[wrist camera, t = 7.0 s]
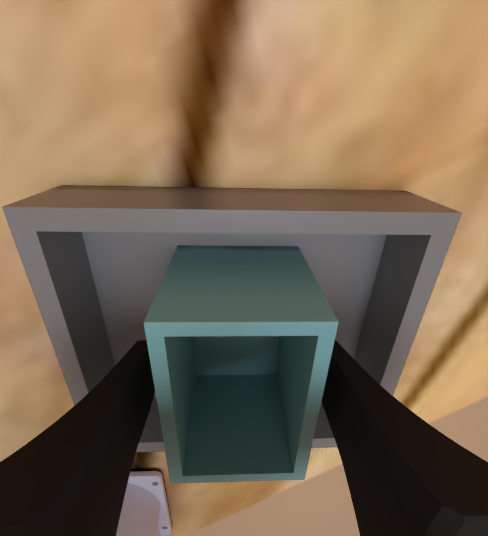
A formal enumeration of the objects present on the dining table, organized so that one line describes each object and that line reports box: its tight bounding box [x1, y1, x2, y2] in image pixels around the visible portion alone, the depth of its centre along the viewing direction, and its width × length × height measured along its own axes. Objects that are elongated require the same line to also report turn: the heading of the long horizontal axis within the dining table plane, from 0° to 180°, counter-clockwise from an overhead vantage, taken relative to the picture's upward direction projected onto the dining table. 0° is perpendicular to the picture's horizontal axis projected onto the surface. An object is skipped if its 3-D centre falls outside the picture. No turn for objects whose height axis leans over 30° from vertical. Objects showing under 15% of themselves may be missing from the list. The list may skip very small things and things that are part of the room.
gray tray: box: [2, 185, 462, 452], centre depth 14 cm, size 13×15×4 cm
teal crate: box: [144, 245, 339, 483], centre depth 12 cm, size 8×5×6 cm
